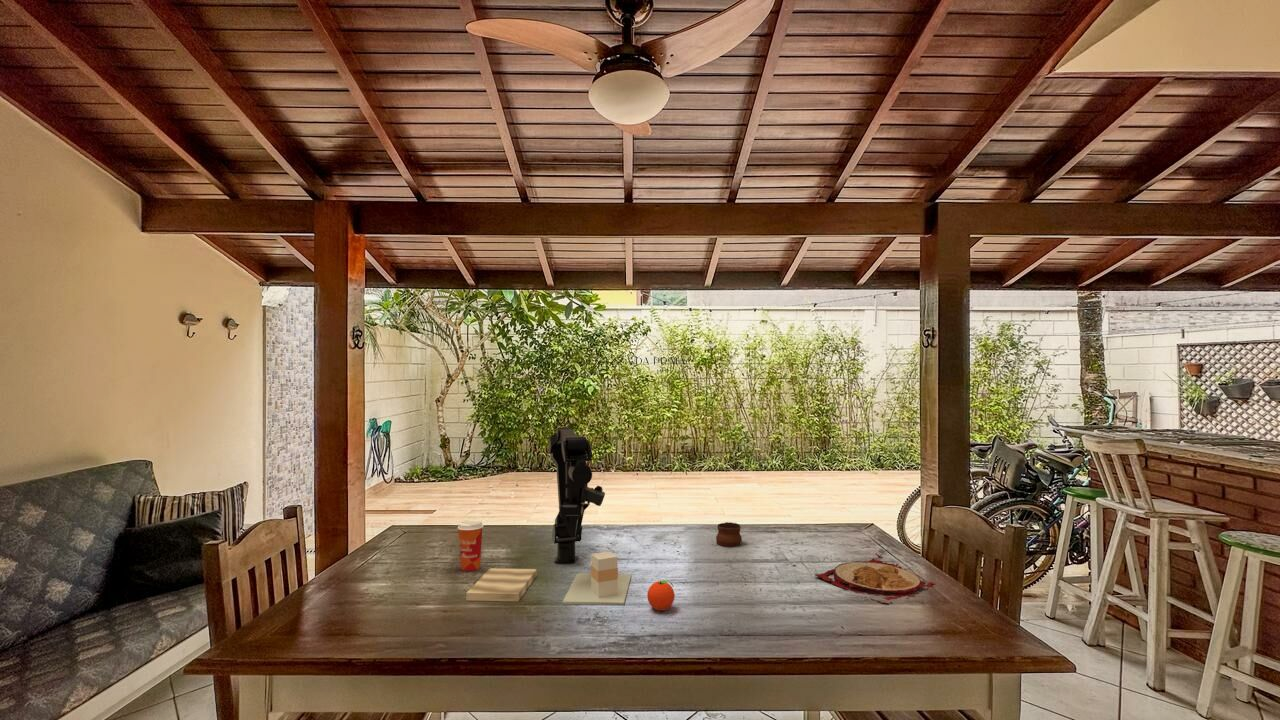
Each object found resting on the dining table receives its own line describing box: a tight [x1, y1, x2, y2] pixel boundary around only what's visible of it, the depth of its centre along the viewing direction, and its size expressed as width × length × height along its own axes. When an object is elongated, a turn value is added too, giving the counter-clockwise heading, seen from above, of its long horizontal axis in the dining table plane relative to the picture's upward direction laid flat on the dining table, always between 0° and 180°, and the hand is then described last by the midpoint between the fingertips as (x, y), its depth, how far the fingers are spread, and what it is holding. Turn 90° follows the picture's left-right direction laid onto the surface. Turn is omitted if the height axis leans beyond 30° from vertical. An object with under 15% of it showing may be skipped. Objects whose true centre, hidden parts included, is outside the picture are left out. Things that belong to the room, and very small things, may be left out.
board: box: [465, 567, 538, 602], centre depth 171 cm, size 20×14×2 cm
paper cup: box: [457, 519, 484, 572], centre depth 188 cm, size 8×8×14 cm
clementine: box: [646, 580, 675, 611], centre depth 155 cm, size 8×7×7 cm
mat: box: [562, 572, 632, 606], centre depth 169 cm, size 22×16×1 cm
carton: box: [590, 550, 619, 598], centre depth 165 cm, size 6×6×10 cm
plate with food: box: [814, 553, 937, 605], centre depth 173 cm, size 25×26×4 cm
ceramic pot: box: [715, 521, 743, 548], centre depth 212 cm, size 18×18×7 cm
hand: (576, 533), depth 179 cm, fingers open, 9 cm apart
